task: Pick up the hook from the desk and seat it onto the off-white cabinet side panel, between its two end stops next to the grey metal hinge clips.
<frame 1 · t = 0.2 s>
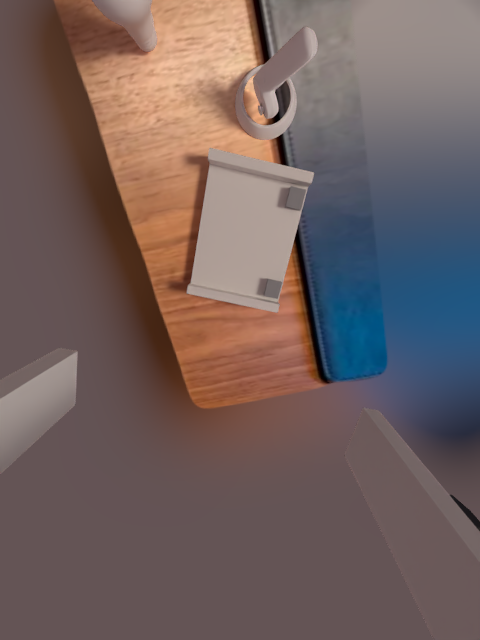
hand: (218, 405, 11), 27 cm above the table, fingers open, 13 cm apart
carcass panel: (246, 238, 36), on the table
lightbulb: (149, 45, 30), on the table
hook: (265, 105, 32), on the table
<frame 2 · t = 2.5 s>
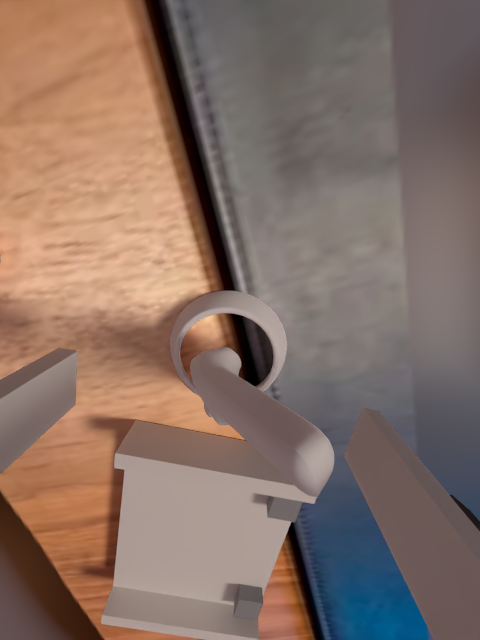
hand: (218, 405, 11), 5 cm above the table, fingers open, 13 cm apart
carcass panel: (203, 521, 21), on the table
hook: (228, 346, 17), on the table
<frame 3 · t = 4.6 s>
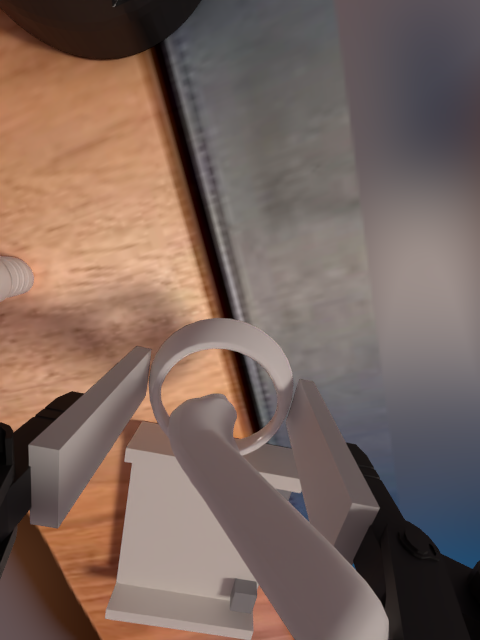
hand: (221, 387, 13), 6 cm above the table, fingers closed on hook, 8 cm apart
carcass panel: (201, 517, 23), on the table
lightbulb: (27, 274, 18), on the table
hook: (222, 384, 14), point 5 cm above the table, touching gripper
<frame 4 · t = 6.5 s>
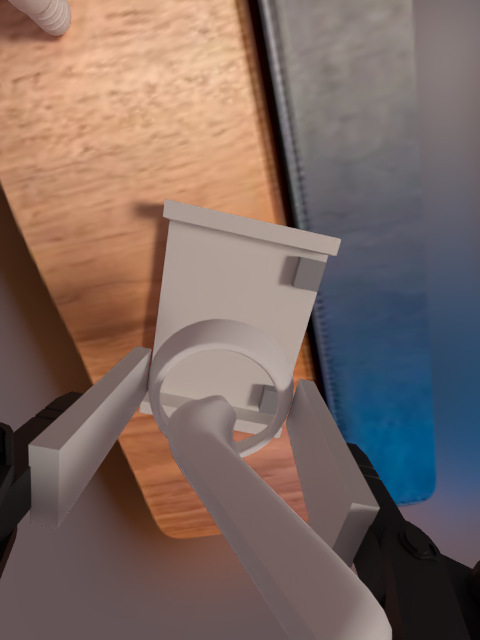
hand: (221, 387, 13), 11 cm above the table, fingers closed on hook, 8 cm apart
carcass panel: (231, 324, 23), on the table
lightbulb: (62, 24, 18), on the table
hook: (221, 385, 14), point 10 cm above the table, touching gripper
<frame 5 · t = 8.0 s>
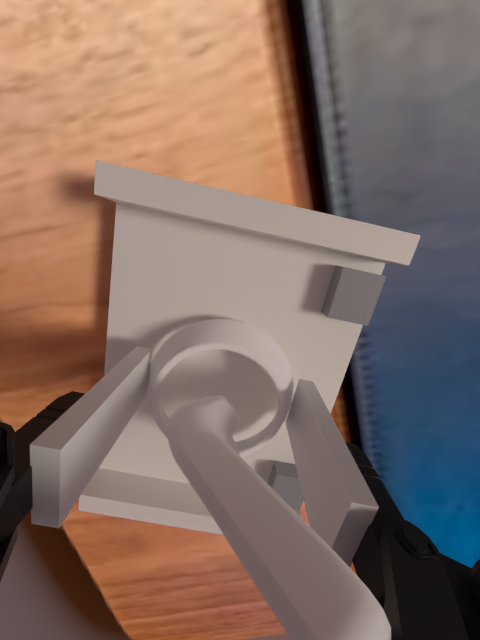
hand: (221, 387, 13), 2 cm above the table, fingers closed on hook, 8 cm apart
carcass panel: (224, 368, 15), on the table
hook: (222, 385, 14), point 2 cm above the table, touching gripper
when the fingers open (2 cm above the table, at t = 8.3 s): hook stays where it is, resting on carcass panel.
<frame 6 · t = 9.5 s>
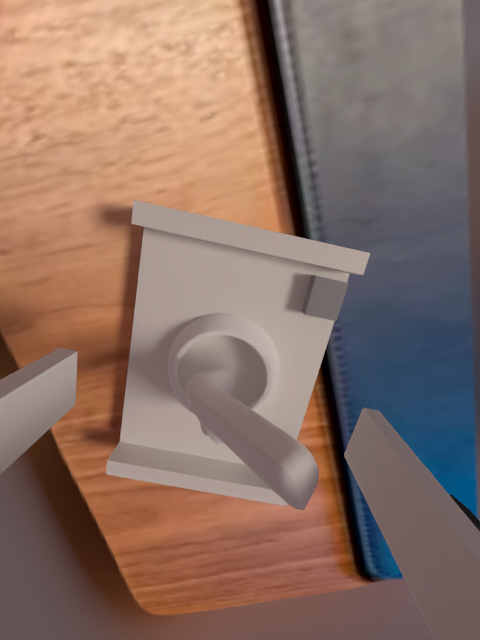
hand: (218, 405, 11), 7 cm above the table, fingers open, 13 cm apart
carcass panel: (225, 358, 19), on the table
hook: (224, 366, 18), point 1 cm above the table, touching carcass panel
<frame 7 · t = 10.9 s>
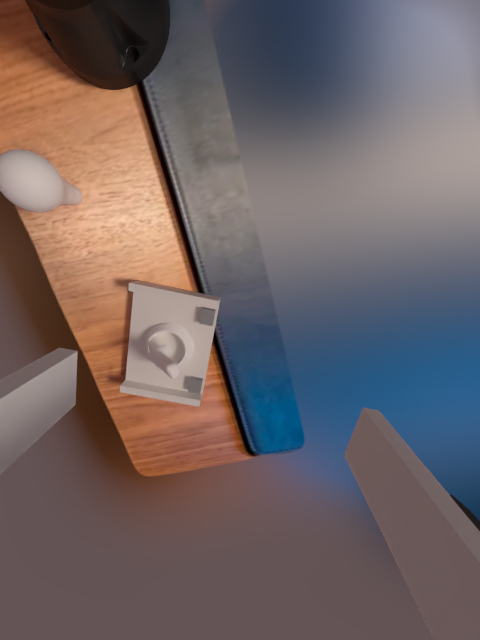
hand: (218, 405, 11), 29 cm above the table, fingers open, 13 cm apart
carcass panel: (171, 342, 41), on the table
lightbulb: (78, 197, 36), on the table
hook: (170, 345, 40), point 1 cm above the table, touching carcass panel
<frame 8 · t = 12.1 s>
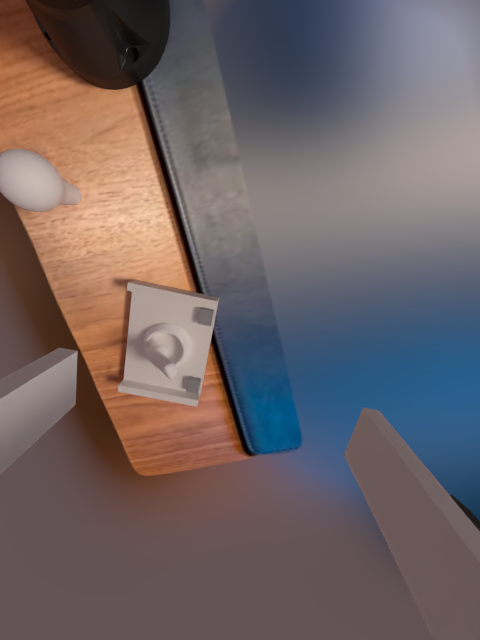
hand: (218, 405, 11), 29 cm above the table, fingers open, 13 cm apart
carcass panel: (170, 341, 41), on the table
lightbulb: (77, 196, 36), on the table
hook: (168, 345, 40), point 1 cm above the table, touching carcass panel
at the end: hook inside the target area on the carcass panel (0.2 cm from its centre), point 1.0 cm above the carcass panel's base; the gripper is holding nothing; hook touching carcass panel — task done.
